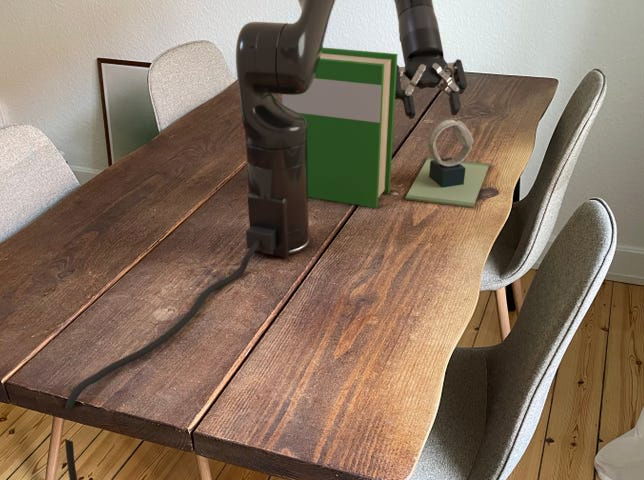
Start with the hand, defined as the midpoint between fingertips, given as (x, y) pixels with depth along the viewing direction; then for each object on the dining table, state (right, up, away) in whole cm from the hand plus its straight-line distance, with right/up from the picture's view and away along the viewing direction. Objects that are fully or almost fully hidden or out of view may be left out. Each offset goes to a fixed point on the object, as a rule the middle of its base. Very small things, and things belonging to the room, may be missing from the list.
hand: (434, 115), depth 144 cm
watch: (+2, -13, -4) cm, 14 cm away
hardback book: (-19, -16, -6) cm, 26 cm away
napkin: (+2, -14, -3) cm, 14 cm away
